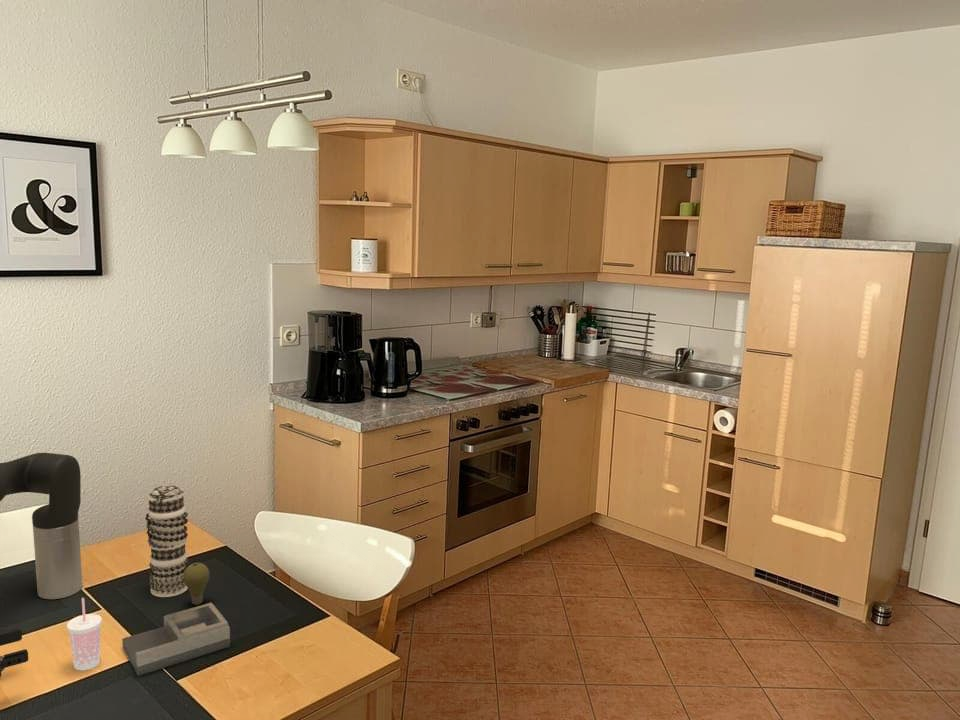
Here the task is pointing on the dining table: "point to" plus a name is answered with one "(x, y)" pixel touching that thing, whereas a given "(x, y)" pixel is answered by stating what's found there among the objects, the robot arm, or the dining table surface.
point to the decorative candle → (167, 541)
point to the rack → (178, 639)
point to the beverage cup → (85, 639)
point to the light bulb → (196, 581)
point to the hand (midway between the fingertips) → (24, 644)
